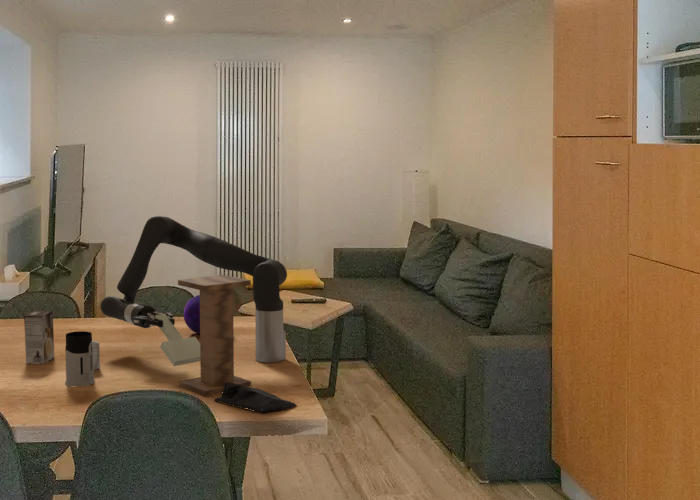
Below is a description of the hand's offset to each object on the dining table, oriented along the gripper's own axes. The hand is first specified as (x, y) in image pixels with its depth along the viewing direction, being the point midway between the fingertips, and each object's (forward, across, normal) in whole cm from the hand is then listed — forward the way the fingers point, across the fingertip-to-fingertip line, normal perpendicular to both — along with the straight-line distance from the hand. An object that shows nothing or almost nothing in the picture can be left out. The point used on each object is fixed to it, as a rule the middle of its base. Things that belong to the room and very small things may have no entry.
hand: (167, 323), depth 279 cm
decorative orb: (-37, +38, +15) cm, 55 cm away
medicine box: (-17, -20, +15) cm, 30 cm away
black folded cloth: (+47, -1, +16) cm, 50 cm away
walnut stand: (+26, 0, +15) cm, 30 cm away
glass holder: (-1, -28, +15) cm, 32 cm away
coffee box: (-37, -26, +15) cm, 48 cm away
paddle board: (+4, 0, +5) cm, 6 cm away
